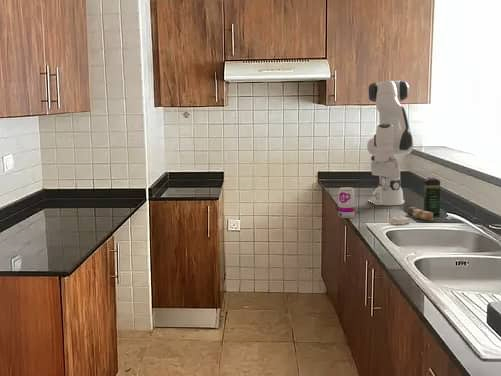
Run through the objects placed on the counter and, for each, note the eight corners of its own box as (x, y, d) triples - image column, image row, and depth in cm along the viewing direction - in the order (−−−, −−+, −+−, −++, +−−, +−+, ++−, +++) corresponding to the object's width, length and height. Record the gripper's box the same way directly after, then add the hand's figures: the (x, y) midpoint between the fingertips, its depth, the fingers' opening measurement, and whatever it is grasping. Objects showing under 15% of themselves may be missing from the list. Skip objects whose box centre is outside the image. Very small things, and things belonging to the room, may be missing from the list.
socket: (390, 222, 277) (390, 217, 277) (401, 221, 280) (401, 216, 279) (397, 224, 272) (397, 219, 271) (409, 223, 274) (409, 218, 273)
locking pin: (381, 190, 284) (381, 176, 283) (386, 190, 284) (386, 175, 284) (384, 190, 281) (384, 176, 280) (389, 190, 282) (388, 176, 281)
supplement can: (351, 218, 292) (350, 189, 290) (336, 217, 296) (335, 188, 294) (357, 216, 299) (356, 187, 297) (342, 215, 303) (341, 186, 301)
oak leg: (406, 214, 296) (406, 207, 295) (413, 213, 297) (413, 206, 297) (426, 219, 279) (426, 212, 279) (434, 218, 281) (434, 211, 280)
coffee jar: (441, 215, 293) (441, 178, 291) (425, 215, 294) (425, 178, 292) (438, 211, 302) (438, 176, 300) (423, 211, 304) (423, 176, 301)
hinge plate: (403, 215, 296) (403, 214, 296) (413, 214, 298) (413, 213, 298) (425, 220, 279) (425, 220, 279) (436, 219, 281) (436, 218, 281)
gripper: (403, 158, 272) (403, 187, 274) (379, 156, 292) (379, 183, 293) (391, 158, 270) (391, 188, 272) (368, 157, 290) (369, 184, 291)
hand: (385, 185), depth 283 cm, fingers closed on locking pin, 3 cm apart
